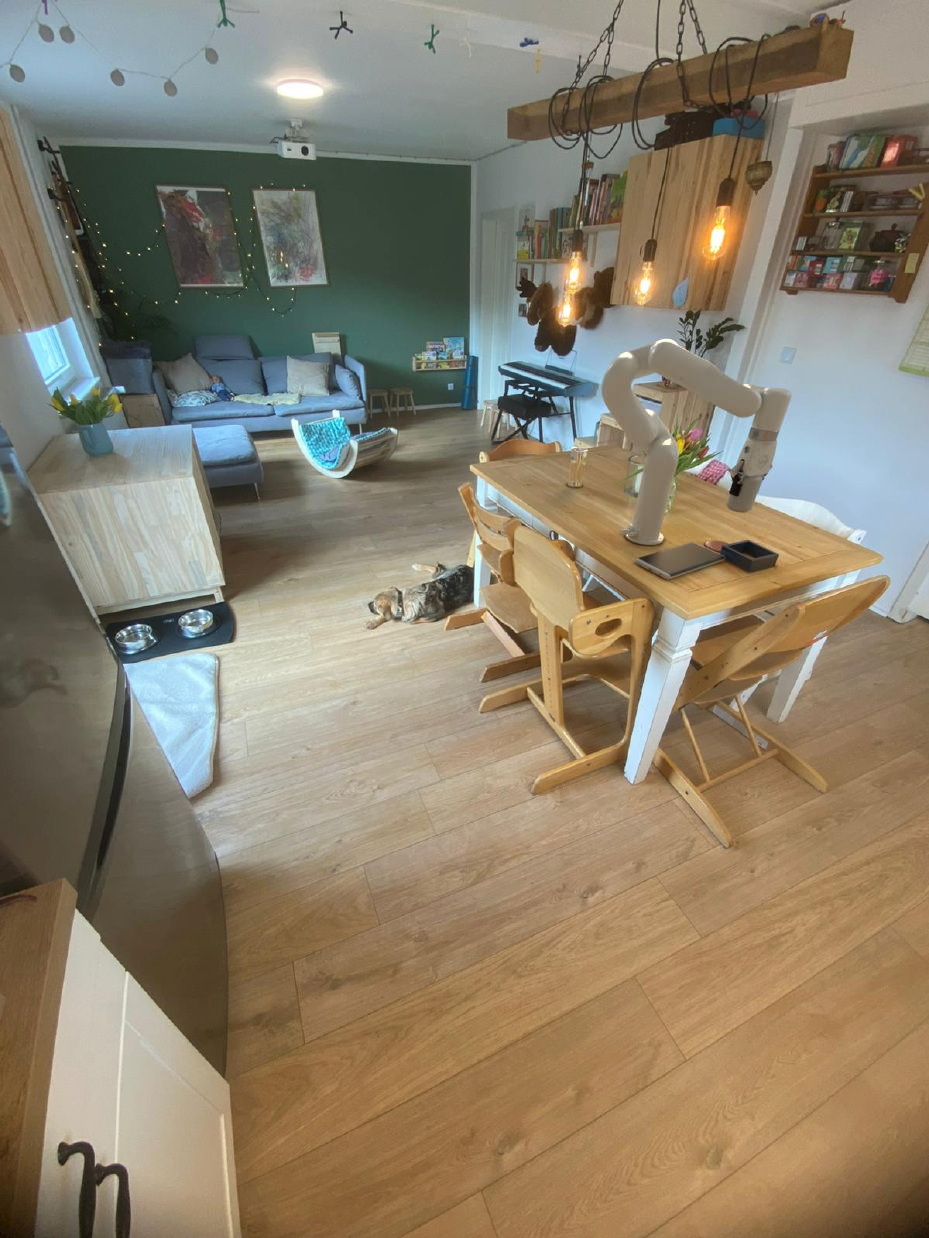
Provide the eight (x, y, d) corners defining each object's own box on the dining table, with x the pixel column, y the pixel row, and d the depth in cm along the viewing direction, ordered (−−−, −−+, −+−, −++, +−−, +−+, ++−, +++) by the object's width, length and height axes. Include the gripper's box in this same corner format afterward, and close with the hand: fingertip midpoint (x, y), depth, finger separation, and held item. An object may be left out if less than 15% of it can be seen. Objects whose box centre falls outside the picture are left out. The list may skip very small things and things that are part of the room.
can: (725, 511, 164) (737, 472, 157) (725, 503, 170) (737, 466, 163) (751, 515, 162) (765, 476, 155) (750, 507, 167) (763, 469, 161)
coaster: (719, 554, 171) (720, 553, 170) (699, 544, 177) (700, 542, 177) (738, 550, 174) (739, 549, 173) (718, 540, 180) (718, 538, 180)
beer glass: (585, 484, 225) (590, 448, 217) (579, 488, 220) (584, 452, 212) (570, 481, 228) (574, 446, 220) (563, 485, 223) (568, 449, 215)
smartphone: (633, 563, 164) (634, 558, 163) (690, 545, 176) (692, 540, 175) (667, 581, 154) (668, 576, 154) (725, 561, 167) (727, 556, 166)
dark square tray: (748, 572, 161) (752, 560, 158) (718, 556, 169) (722, 545, 167) (774, 566, 165) (779, 554, 163) (744, 550, 174) (748, 539, 171)
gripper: (752, 440, 147) (732, 501, 157) (795, 436, 153) (773, 494, 163) (730, 433, 153) (712, 492, 162) (773, 429, 159) (753, 486, 169)
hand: (743, 493), depth 163 cm, fingers closed on can, 7 cm apart
